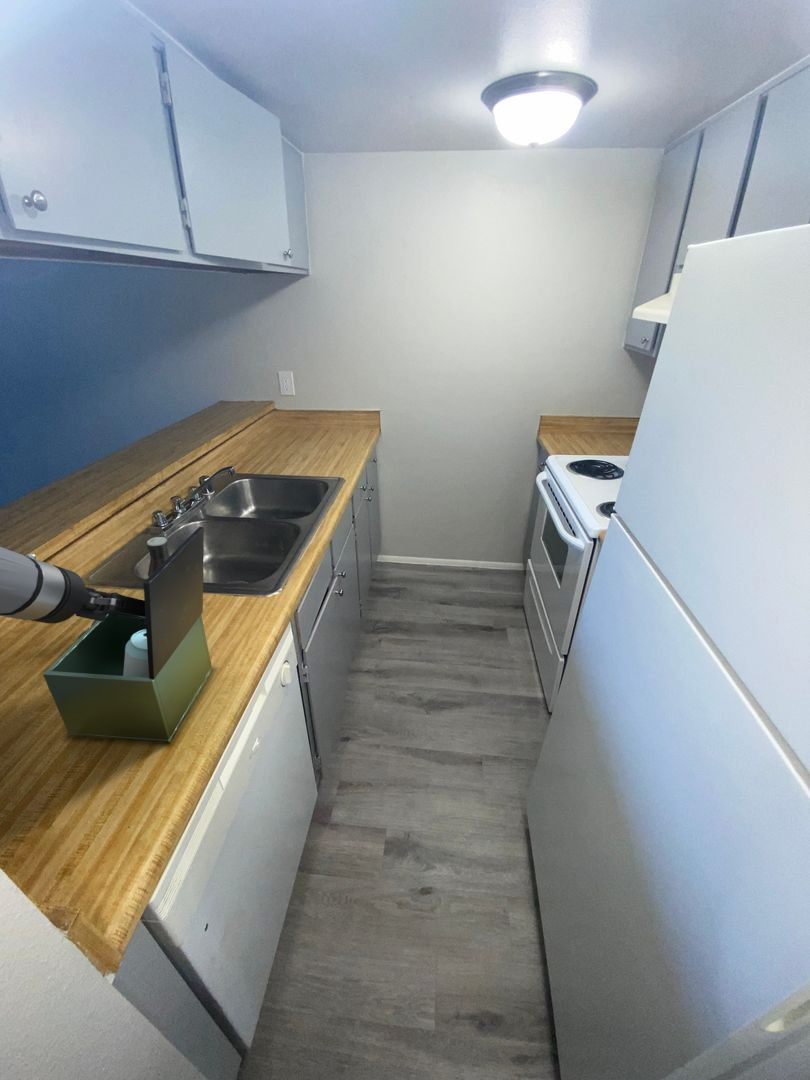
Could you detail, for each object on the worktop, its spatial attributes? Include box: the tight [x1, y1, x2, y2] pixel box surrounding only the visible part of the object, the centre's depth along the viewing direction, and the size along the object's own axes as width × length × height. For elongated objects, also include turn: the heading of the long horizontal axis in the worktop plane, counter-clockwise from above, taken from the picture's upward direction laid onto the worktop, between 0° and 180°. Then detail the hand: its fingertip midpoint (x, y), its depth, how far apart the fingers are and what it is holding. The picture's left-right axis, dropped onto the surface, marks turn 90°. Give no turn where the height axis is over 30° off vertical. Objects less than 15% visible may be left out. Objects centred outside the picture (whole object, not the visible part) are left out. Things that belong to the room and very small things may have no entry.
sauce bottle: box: [146, 536, 171, 578], centre depth 107 cm, size 7×6×20 cm
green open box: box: [42, 614, 214, 745], centre depth 85 cm, size 18×18×14 cm
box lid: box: [143, 526, 205, 680], centre depth 77 cm, size 18×18×1 cm
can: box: [123, 629, 149, 678], centre depth 85 cm, size 7×7×12 cm
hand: (134, 615), depth 83 cm, fingers open, 10 cm apart
